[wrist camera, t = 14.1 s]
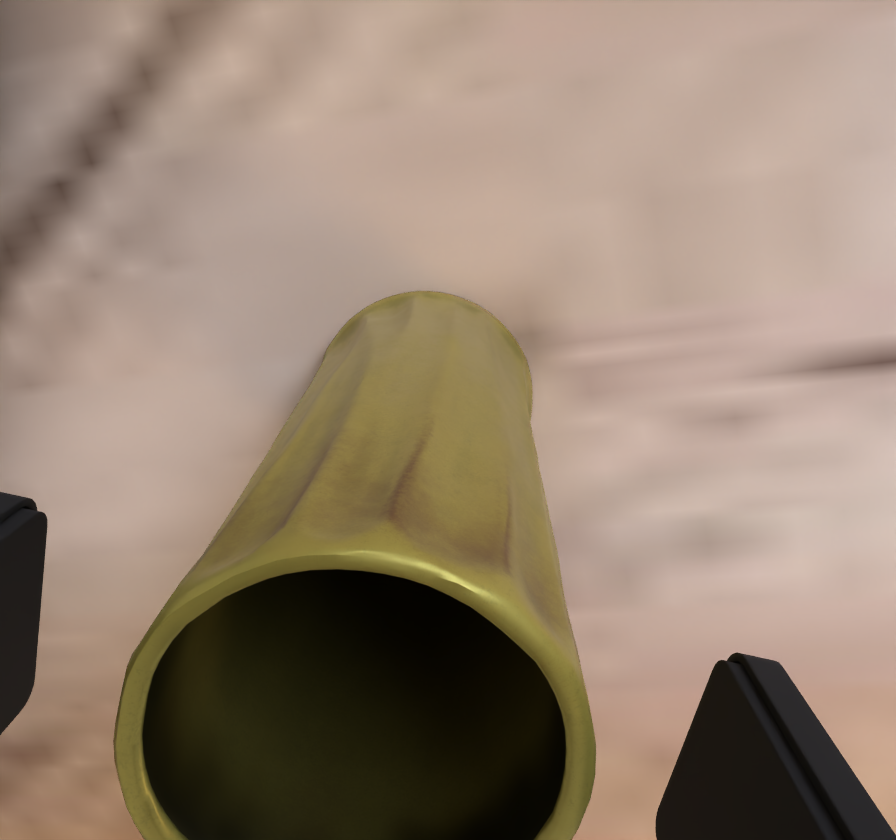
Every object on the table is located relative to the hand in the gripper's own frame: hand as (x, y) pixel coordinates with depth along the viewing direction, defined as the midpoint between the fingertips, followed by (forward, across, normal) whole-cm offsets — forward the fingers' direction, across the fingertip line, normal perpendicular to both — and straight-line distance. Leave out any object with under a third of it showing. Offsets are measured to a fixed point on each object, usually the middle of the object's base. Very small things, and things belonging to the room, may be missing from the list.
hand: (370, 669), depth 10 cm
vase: (+12, 0, -1) cm, 12 cm away
